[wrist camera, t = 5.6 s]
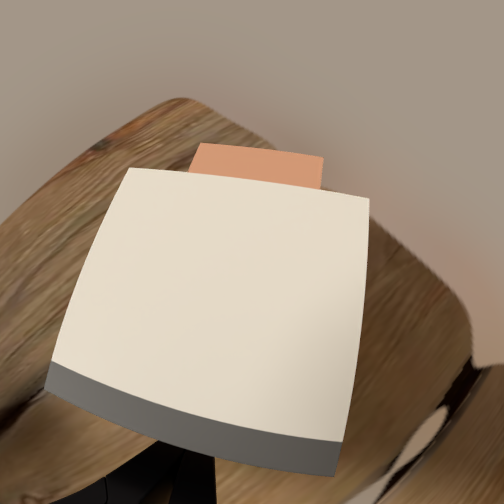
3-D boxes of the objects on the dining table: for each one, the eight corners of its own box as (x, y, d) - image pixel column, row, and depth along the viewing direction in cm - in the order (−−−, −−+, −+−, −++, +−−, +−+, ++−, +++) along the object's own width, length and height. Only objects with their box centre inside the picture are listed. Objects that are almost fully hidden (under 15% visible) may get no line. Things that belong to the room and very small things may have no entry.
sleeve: (296, 433, 14) (334, 476, 5) (165, 403, 15) (43, 389, 6) (319, 311, 17) (369, 198, 8) (196, 288, 18) (129, 167, 9)
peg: (272, 429, 12) (273, 448, 7) (173, 405, 13) (110, 401, 7) (308, 241, 16) (323, 157, 10) (221, 227, 16) (200, 143, 11)
